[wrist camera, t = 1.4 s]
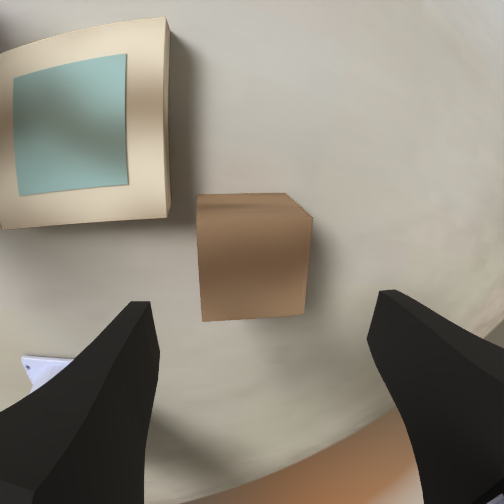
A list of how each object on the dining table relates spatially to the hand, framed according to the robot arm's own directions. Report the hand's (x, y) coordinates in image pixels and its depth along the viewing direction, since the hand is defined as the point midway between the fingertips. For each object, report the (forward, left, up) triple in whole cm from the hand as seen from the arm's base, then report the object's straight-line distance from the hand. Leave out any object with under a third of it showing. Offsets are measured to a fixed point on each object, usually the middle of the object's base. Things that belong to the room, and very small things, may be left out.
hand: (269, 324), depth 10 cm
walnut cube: (-1, 0, -10) cm, 10 cm away
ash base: (+6, +9, -10) cm, 14 cm away
